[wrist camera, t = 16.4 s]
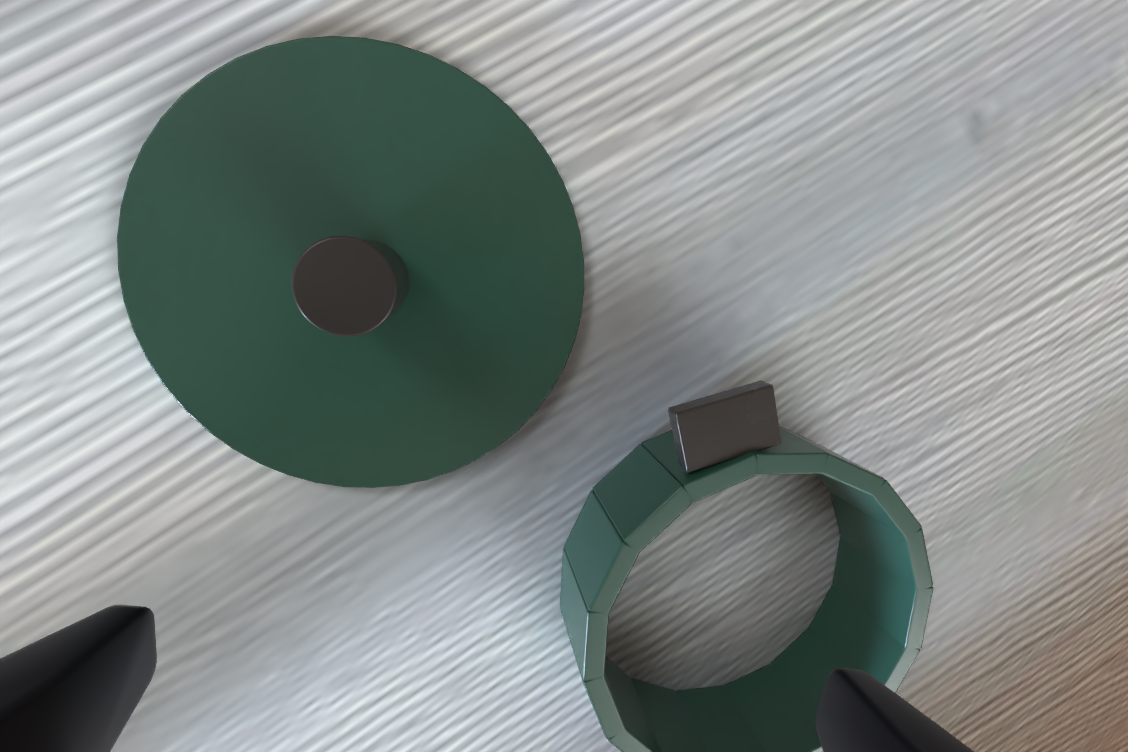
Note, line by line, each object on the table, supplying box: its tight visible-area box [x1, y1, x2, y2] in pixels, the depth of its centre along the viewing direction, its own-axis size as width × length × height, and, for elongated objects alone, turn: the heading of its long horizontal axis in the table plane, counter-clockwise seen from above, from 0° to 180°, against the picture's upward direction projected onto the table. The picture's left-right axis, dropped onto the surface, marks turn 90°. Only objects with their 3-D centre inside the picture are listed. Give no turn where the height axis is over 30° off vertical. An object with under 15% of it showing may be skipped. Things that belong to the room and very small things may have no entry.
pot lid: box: [117, 36, 584, 488], centre depth 16 cm, size 14×14×4 cm
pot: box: [560, 381, 933, 752], centre depth 20 cm, size 13×15×4 cm
